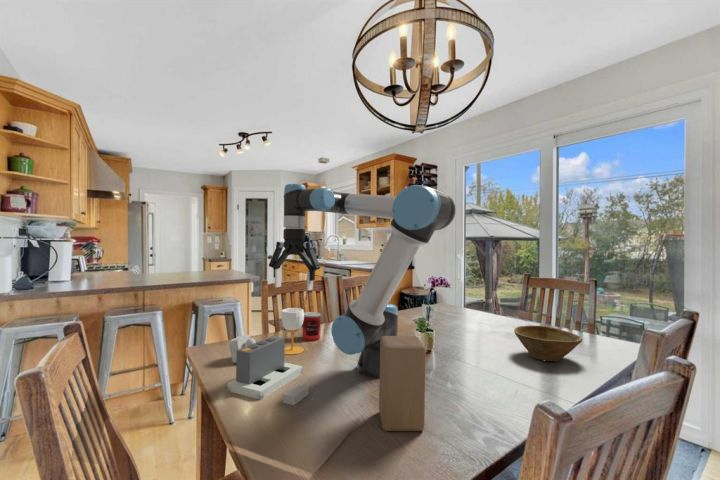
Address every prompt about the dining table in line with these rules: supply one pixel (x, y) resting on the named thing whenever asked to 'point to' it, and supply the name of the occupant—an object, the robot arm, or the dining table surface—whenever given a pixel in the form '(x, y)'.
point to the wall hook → (239, 345)
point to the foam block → (295, 394)
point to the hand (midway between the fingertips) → (293, 288)
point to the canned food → (311, 326)
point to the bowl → (547, 341)
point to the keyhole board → (267, 382)
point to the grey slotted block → (259, 359)
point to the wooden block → (402, 383)
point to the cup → (292, 326)
